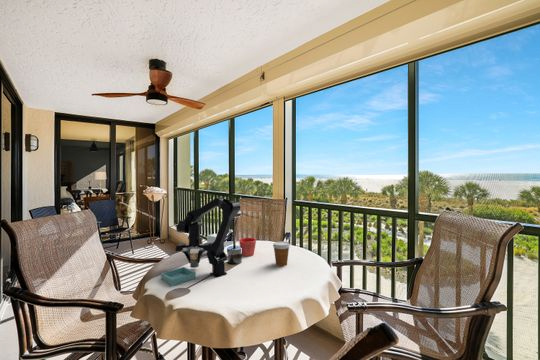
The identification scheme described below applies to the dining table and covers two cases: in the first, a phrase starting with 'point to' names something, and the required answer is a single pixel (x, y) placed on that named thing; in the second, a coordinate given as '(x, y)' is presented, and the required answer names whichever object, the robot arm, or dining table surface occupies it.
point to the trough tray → (178, 276)
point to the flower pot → (247, 246)
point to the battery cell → (194, 260)
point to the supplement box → (211, 238)
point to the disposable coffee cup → (281, 252)
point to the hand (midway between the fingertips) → (194, 262)
